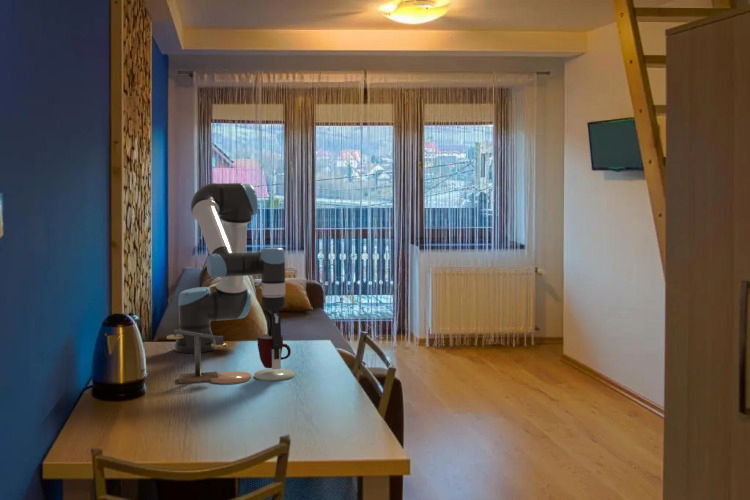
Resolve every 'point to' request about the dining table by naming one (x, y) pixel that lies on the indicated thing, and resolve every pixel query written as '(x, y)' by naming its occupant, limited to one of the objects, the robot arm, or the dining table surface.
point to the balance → (198, 356)
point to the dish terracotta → (231, 377)
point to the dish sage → (274, 374)
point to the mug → (265, 350)
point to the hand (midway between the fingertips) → (274, 365)
